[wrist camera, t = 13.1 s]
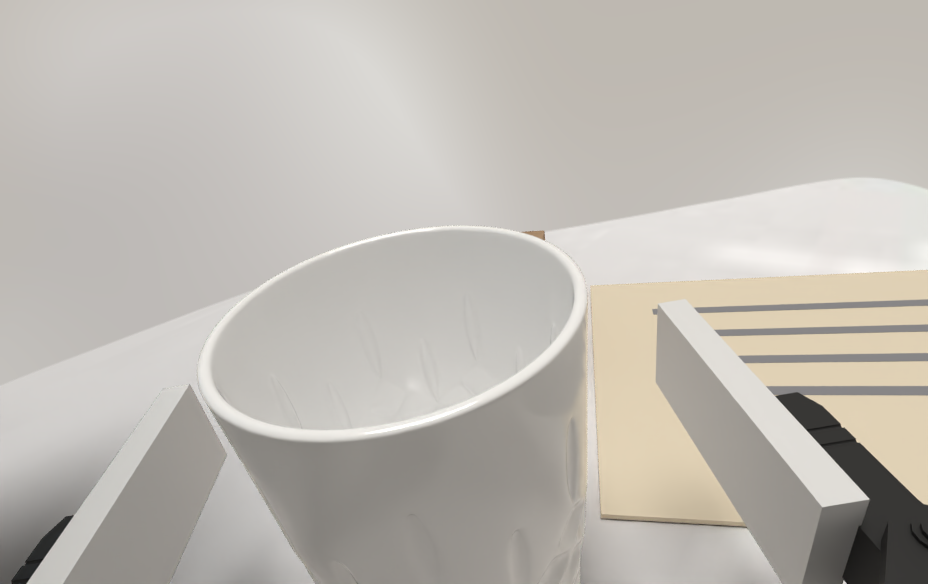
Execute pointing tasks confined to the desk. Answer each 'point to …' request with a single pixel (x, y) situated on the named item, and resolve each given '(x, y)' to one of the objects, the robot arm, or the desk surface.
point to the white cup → (415, 407)
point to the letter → (777, 366)
